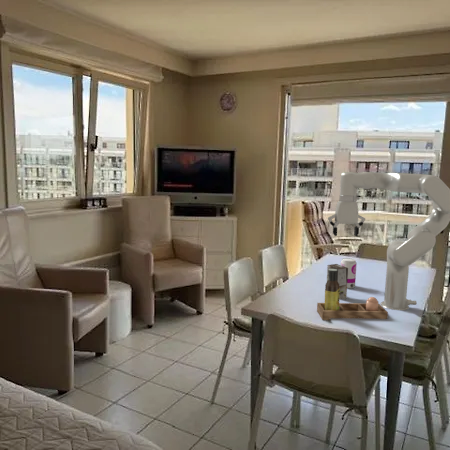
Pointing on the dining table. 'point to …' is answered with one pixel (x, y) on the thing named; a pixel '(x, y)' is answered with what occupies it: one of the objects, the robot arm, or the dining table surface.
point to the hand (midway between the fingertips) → (345, 235)
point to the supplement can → (350, 271)
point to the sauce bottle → (332, 291)
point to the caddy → (351, 311)
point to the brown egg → (372, 304)
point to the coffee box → (340, 278)
